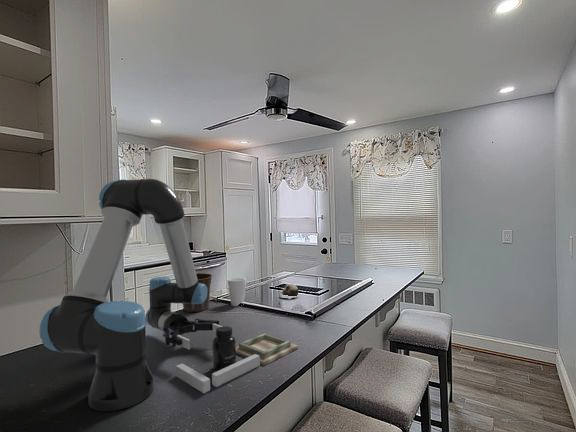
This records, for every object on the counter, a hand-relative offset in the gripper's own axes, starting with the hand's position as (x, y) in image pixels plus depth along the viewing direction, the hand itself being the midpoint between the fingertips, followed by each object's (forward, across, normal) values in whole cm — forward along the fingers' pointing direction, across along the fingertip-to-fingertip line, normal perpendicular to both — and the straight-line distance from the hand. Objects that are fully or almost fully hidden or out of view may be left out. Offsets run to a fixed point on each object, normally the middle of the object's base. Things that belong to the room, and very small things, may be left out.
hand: (208, 337), depth 104 cm
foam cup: (-42, -47, -7) cm, 63 cm away
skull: (-30, -75, -7) cm, 81 cm away
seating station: (+9, -17, -7) cm, 20 cm away
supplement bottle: (+9, 0, -7) cm, 11 cm away
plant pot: (-52, -29, -7) cm, 60 cm away
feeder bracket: (+9, +2, -7) cm, 11 cm away
